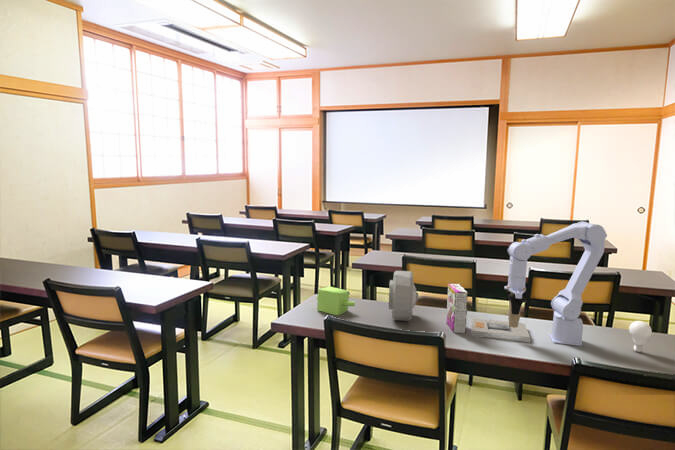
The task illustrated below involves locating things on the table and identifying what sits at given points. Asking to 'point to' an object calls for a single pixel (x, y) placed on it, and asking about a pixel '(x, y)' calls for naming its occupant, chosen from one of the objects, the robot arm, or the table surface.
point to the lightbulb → (639, 334)
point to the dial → (402, 295)
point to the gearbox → (333, 300)
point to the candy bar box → (457, 308)
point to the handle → (513, 317)
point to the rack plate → (515, 334)
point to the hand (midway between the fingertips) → (514, 312)
